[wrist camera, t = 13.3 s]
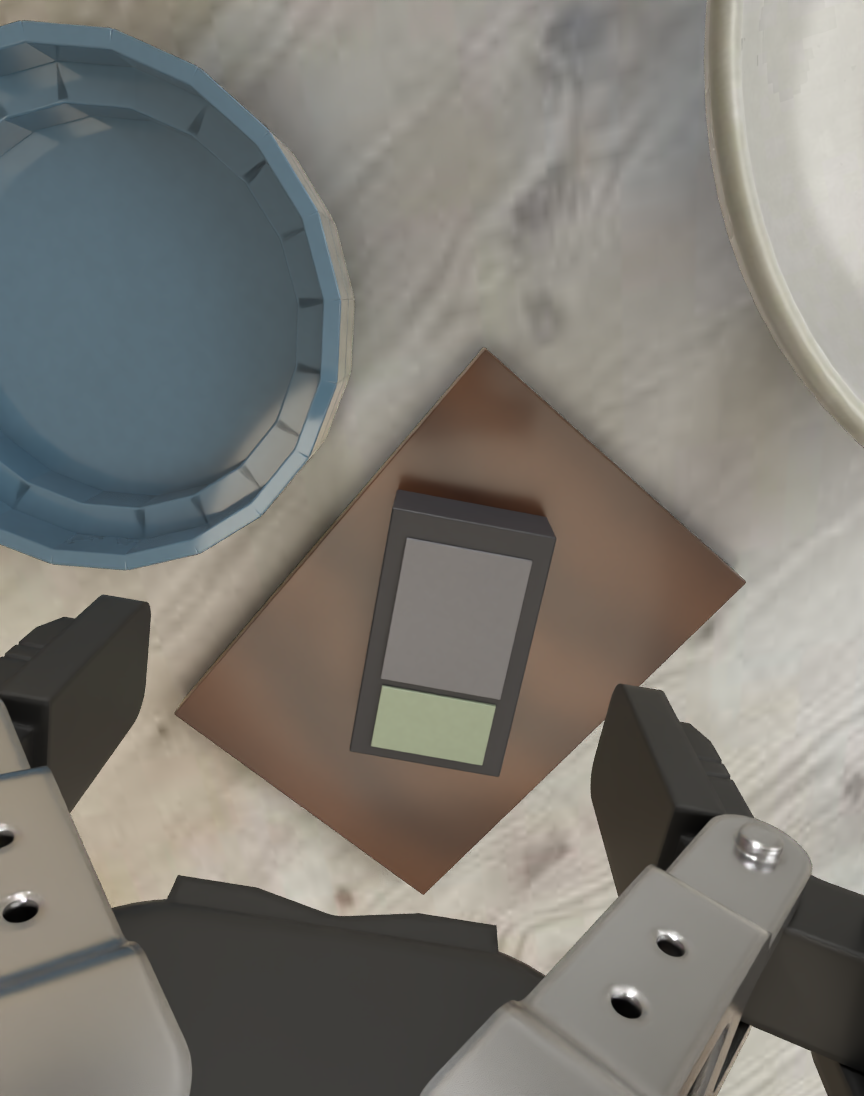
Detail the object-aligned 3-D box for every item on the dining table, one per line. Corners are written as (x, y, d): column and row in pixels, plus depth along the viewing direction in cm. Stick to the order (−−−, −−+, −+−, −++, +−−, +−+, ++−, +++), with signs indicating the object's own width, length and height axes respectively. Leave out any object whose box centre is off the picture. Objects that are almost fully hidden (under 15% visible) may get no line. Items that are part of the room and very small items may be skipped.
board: (484, 346, 32) (485, 348, 31) (734, 570, 34) (747, 582, 33) (184, 697, 37) (173, 714, 35) (424, 873, 39) (423, 895, 38)
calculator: (397, 488, 32) (391, 508, 29) (547, 516, 32) (558, 539, 29) (356, 714, 35) (348, 754, 32) (495, 739, 35) (499, 780, 32)
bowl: (70, -48, 28) (-6, -118, 24) (447, 292, 31) (447, 290, 27) (-171, 342, 32) (-278, 349, 28) (185, 610, 35) (144, 659, 31)
